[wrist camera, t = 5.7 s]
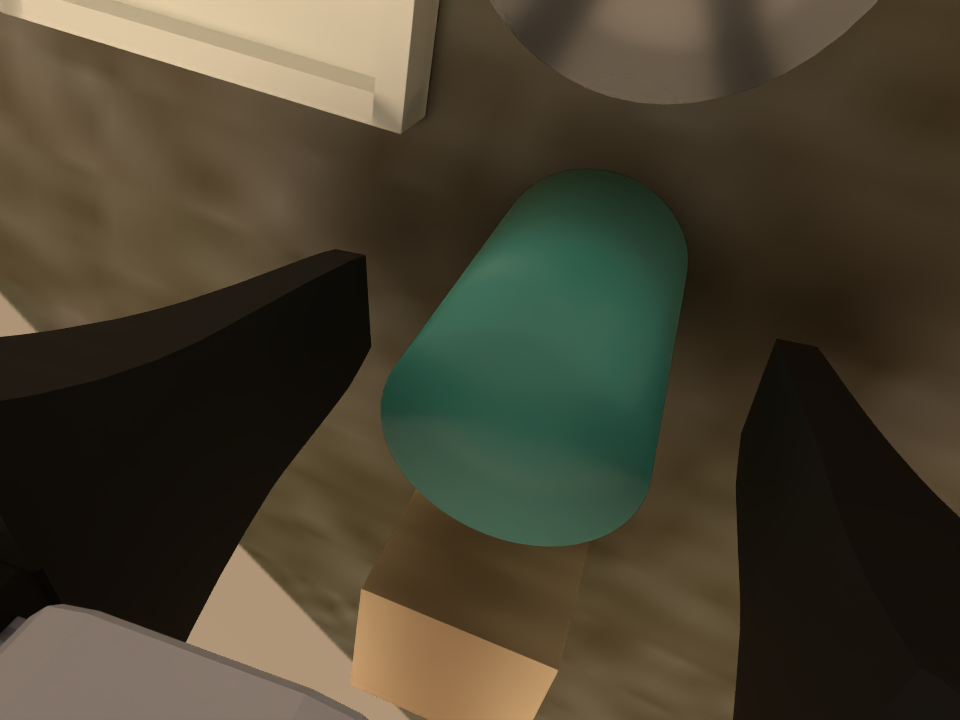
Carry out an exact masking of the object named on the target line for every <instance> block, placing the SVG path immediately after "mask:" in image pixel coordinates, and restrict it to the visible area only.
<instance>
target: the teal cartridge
mask: <svg viewBox="0 0 960 720" xmlns="http://www.w3.org/2000/svg"><path fill="white" fill-rule="evenodd" d="M687 271H688V253H687V245H686V241H685V238H684V234H683V232H682V229H681V227H680V225H679V222H678V221H677V219H676V217H675V216H674V214H673V213H672V211H671V210H670V209H669V207H668V206H667V205H666V204H665V203H664V201H663V200H662V199H660V198H659V197H658V196H657V195H656V194H655V193H654V192H653V191H651V190H650V189H648V188H647V187H646V186H644V185H643V184H641V183H639V182H637V181H635V180H633V179H631V178H629V177H626V176H624V175H621V174H618V173H615V172H610V171H606V170H598V169H575V170H569V171H564V172H560V173H557V174H554V175H551V176H549V177H547V178H545V179H542V180H540V181H539V182H537V183H536V184H534V185H533V186H531V187H530V188H529V189H527V190H526V191H525V192H524V193H523V194H522V195H521V196H520V197H519V198H518V199H517V200H516V201H515V203H514V204H513V205H512V207H511V208H510V209H509V211H508V212H507V214H506V215H505V216H504V218H503V219H502V220H501V222H500V223H499V224H498V226H497V227H496V229H495V230H494V231H493V233H492V234H491V235H490V237H489V238H488V240H487V241H486V242H485V244H484V245H483V246H482V248H481V249H480V251H479V252H478V253H477V255H476V256H475V257H474V259H473V260H472V261H471V263H470V264H469V266H468V267H467V268H466V270H465V271H464V272H463V274H462V275H461V277H460V278H459V279H458V281H457V282H456V283H455V285H454V286H453V288H452V289H451V290H450V292H449V293H448V294H447V296H446V297H445V298H444V300H443V301H442V303H441V304H440V305H439V307H438V308H437V309H436V311H435V312H434V314H433V315H432V316H431V318H430V319H429V320H428V322H427V323H426V325H425V326H424V327H423V329H422V330H421V331H420V333H419V334H418V335H417V337H416V338H415V340H414V341H413V342H412V344H411V345H410V346H409V348H408V349H407V351H406V352H405V353H404V355H403V356H402V357H401V359H400V360H399V362H398V363H397V364H396V366H395V367H394V369H393V370H392V372H391V374H390V375H389V377H388V379H387V382H386V384H385V387H384V390H383V395H382V400H381V421H382V428H383V432H384V435H385V439H386V442H387V444H388V447H389V449H390V452H391V454H392V456H393V457H394V459H395V461H396V463H397V464H398V466H399V468H400V469H401V470H402V472H403V473H404V475H405V476H406V477H407V479H408V480H409V481H410V482H411V483H412V484H413V485H414V487H415V488H416V489H417V490H418V491H419V492H420V493H421V494H422V495H423V496H425V497H426V498H427V499H428V500H429V501H430V502H431V503H433V504H434V505H435V506H436V507H438V508H439V509H440V510H442V511H443V512H445V513H446V514H448V515H449V516H451V517H452V518H454V519H455V520H457V521H459V522H461V523H463V524H465V525H467V526H468V527H471V528H473V529H475V530H477V531H480V532H482V533H484V534H487V535H490V536H493V537H496V538H499V539H502V540H506V541H510V542H514V543H520V544H526V545H533V546H547V547H548V546H567V545H575V544H580V543H584V542H588V541H592V540H595V539H597V538H600V537H603V536H605V535H607V534H609V533H611V532H612V531H614V530H616V529H618V528H619V527H620V526H622V525H623V524H624V523H625V522H627V521H628V520H629V519H630V518H631V517H632V516H633V515H634V514H635V512H636V511H637V510H638V509H639V507H640V505H641V504H642V502H643V501H644V499H645V497H646V494H647V492H648V489H649V486H650V481H651V476H652V470H653V465H654V459H655V453H656V448H657V442H658V436H659V430H660V425H661V419H662V413H663V408H664V402H665V396H666V390H667V385H668V379H669V373H670V368H671V362H672V356H673V351H674V345H675V339H676V333H677V328H678V322H679V316H680V311H681V305H682V299H683V293H684V288H685V282H686V276H687Z"/></svg>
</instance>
